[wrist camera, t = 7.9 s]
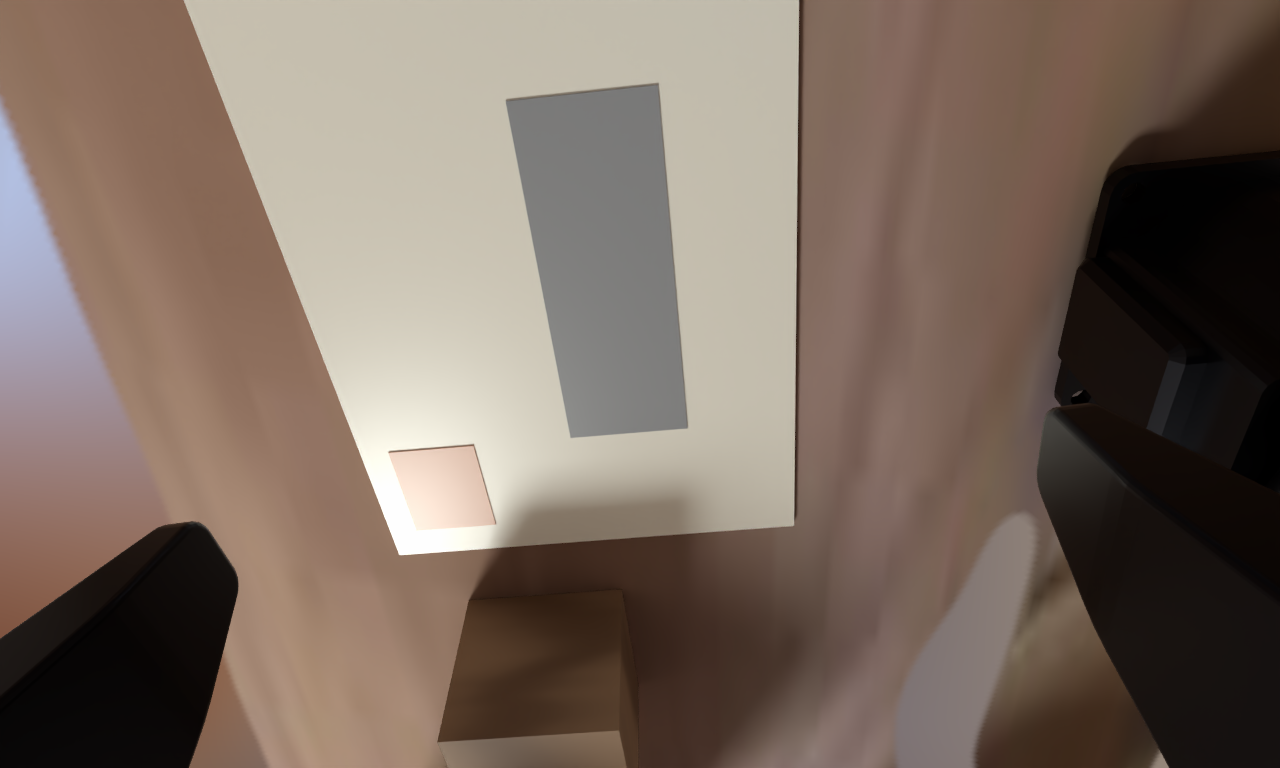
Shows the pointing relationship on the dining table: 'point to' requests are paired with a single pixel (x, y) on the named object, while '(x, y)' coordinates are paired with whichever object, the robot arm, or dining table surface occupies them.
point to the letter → (537, 251)
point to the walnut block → (543, 685)
